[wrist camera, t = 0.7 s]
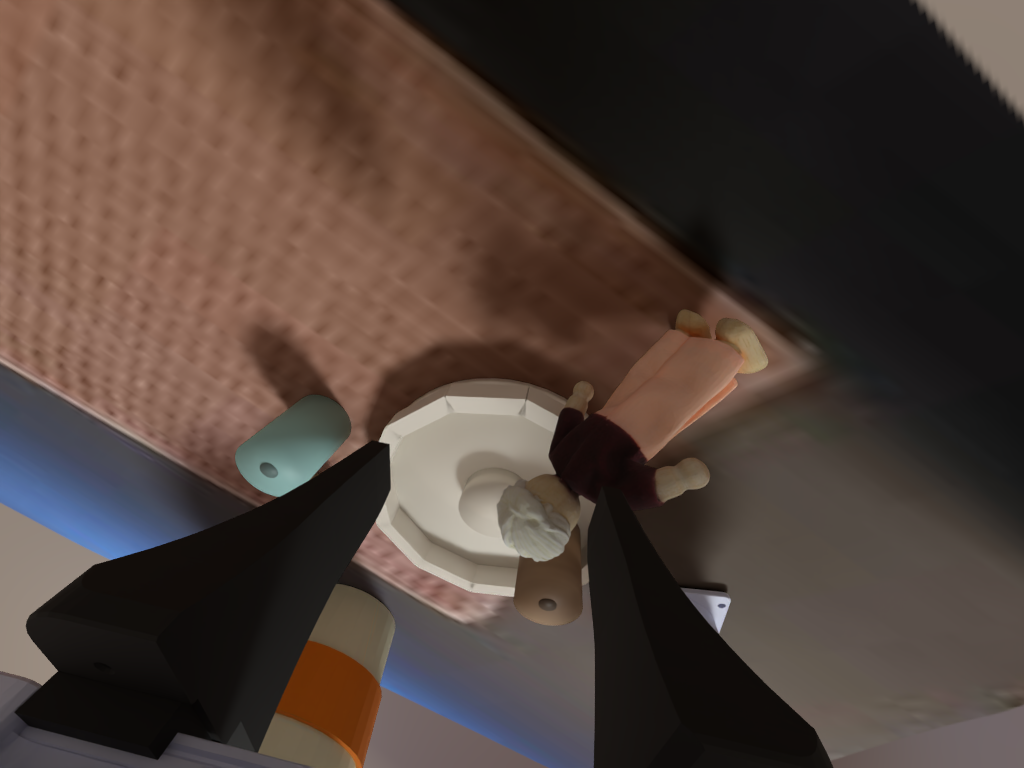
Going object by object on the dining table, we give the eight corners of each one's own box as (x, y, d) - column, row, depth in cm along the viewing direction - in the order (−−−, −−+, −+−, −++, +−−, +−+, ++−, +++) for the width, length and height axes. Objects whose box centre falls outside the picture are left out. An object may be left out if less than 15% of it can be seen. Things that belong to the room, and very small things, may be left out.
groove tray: (612, 577, 27) (615, 608, 25) (405, 556, 30) (392, 582, 28) (638, 382, 20) (646, 404, 18) (361, 373, 22) (340, 391, 20)
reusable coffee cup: (287, 631, 38) (134, 869, 24) (281, 553, 32) (75, 810, 19) (406, 667, 38) (317, 924, 24) (422, 594, 32) (317, 883, 18)
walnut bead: (579, 554, 26) (580, 630, 21) (524, 548, 26) (514, 622, 22) (581, 513, 24) (584, 586, 19) (522, 508, 24) (512, 579, 20)
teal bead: (356, 445, 25) (310, 500, 21) (305, 442, 26) (249, 494, 21) (343, 395, 23) (289, 443, 19) (288, 393, 24) (223, 439, 19)
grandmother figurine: (683, 358, 20) (508, 520, 19) (650, 302, 19) (460, 473, 18) (840, 395, 13) (575, 653, 12) (805, 309, 12) (504, 593, 11)
